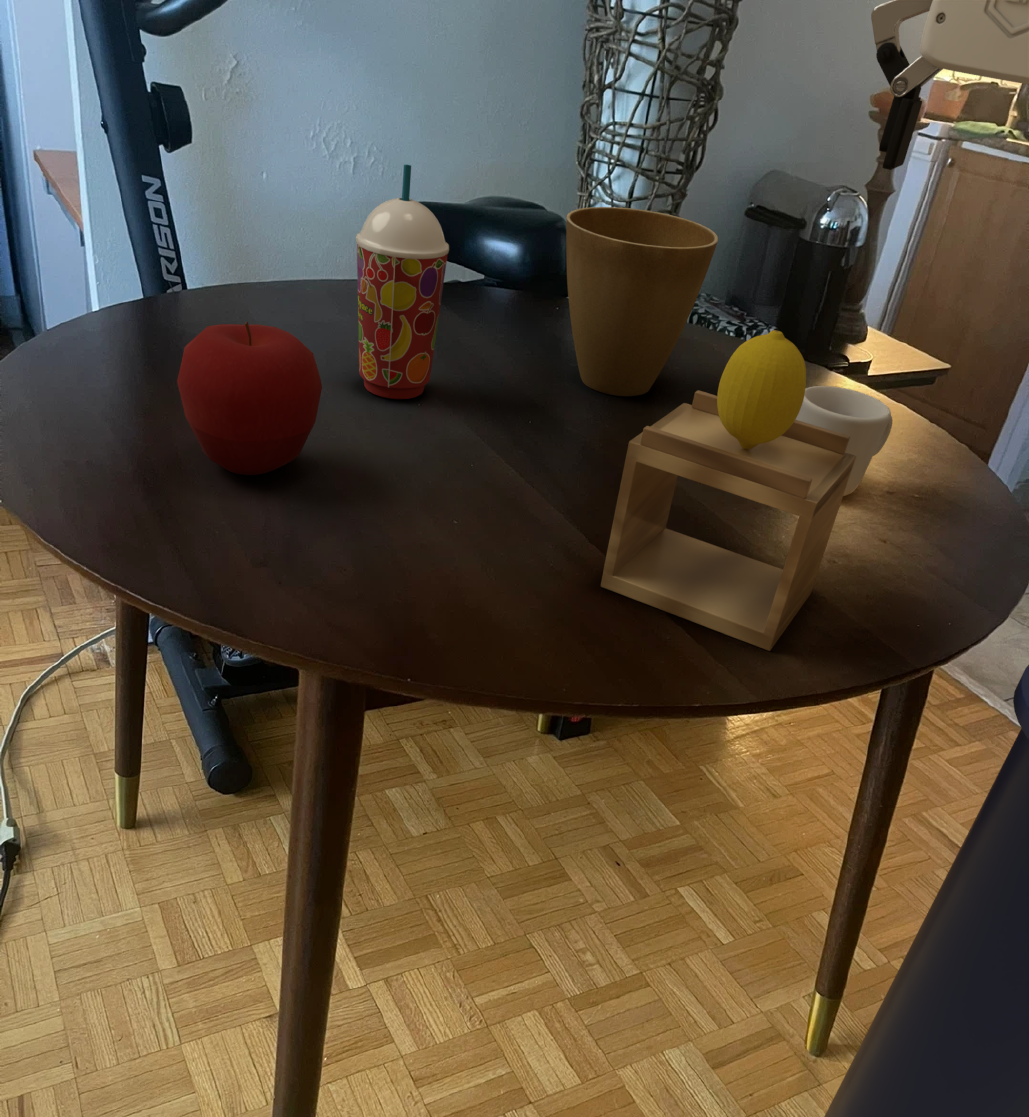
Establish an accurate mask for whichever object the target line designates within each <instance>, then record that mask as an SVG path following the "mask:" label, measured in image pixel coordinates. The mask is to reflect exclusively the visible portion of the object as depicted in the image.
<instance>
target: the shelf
mask: <svg viewBox="0 0 1029 1117" xmlns="http://www.w3.org/2000/svg"><path fill="white" fill-rule="evenodd" d="M849 439H850V436H848V435H844V434H841V433H838V432H835V431H831V430H828V429H825V428H821V427H818V426H815V425H811V424H808V423H805V422H801V421H798V420H795V421H794V423H793V424H792V425H791V427H790V428H789V429H788V430H787V431H786V432H785V433H784V434H783V435H781V436H780V437H778V438H777V439H775V440H773V441H770V442H767V443H761V444H758V445H756V446H755V447H753V448H752V449H744V448H742V447H741V445H740V444H739V442H738V440H737V439H736V438H735V437H733V436H732V435H731V434H730V433H729V432H728V431H727V430H726V429H725V427H724V426H723V424H722V422H721V420H720V417H719V414H718V407H717V395H715V394H712V393H708V392H705V391H702V390H696V391H695V392H694V395H693V399H692V404H689V403H687V402H683V403H682V404H680V405H679V406H678V407H676V408H675V409H673V410H672V411H671V412H669V413H668V414H666V415H665V416H664V417H662V418H660V419H659V420H658V421H656V422H655V423H653V424H652V425H650V426H649V425H646V426H645V427H643V429H642V432H641V433H639V434H638V435H636V436H635V437H633V438H632V439H631V440H629V441H628V446H627V451H626V455H625V461H624V465H623V470H622V476H621V479H620V480H621V481H620V485H619V490H618V496H617V501H616V504H615V510H614V516H613V521H612V526H611V529H610V536H609V540H608V546H607V549H606V550H607V551H606V556H605V561H604V565H603V566H604V567H603V571H602V576H601V580H600V581H601V582H600V587H601V588H603V589H606V590H608V591H611V592H614V593H617V594H618V595H622V596H624V597H626V598H629V599H632V600H634V601H637V602H640V603H642V604H645V605H647V606H650V607H653V608H656V609H658V610H661V611H663V612H665V613H668V614H671V615H674V616H676V617H679V618H682V619H684V620H687V621H690V622H692V623H695V624H698V625H700V626H703V627H705V628H708V629H710V630H712V631H715V632H718V633H721V634H723V635H726V636H729V637H731V638H734V639H737V640H739V641H742V642H744V643H747V644H750V645H752V646H755V647H757V648H760V649H763V650H765V651H767V652H770V651H771V650H772V649H773V648H774V646H775V645H776V644H777V642H778V640H779V639H780V637H781V636H782V635H783V633H784V632H785V631H786V629H787V628H788V626H789V625H790V624H791V623H792V621H793V619H794V618H795V617H796V615H797V613H798V612H799V611H800V610H801V609H802V607H803V605H804V604H805V603H806V601H807V600H808V599H809V597H810V595H811V594H812V591H813V588H814V585H815V581H816V579H817V576H818V573H819V570H820V567H821V564H822V561H823V557H824V555H825V552H826V550H827V545H828V542H829V540H830V537H831V533H832V531H833V528H834V526H835V525H834V524H835V522H836V519H837V516H838V512H839V510H840V506H841V503H842V500H843V498H844V496H843V495H844V492H845V489H846V486H847V483H848V480H849V477H850V474H851V471H852V468H853V465H854V462H855V459H856V456H855V455H852V454H848V453H845V451H846V448H847V445H848V442H849ZM678 477H681V478H685V479H687V480H690V481H694V482H696V483H699V484H702V485H706V486H707V487H711V488H714V489H718V490H720V491H723V492H727V493H729V494H732V495H736V496H738V497H741V498H744V499H747V500H750V501H753V502H756V503H759V504H762V505H765V506H768V507H771V508H775V509H777V510H781V511H783V512H787V513H789V514H792V515H795V516H798V520H797V523H796V527H795V530H794V533H793V536H792V538H791V539H792V540H791V543H790V546H789V549H788V552H787V556H786V558H785V562H784V565H783V567H782V568H783V569H782V568H780V567H776V566H774V565H771V564H768V563H765V562H764V561H759V560H757V559H754V558H751V557H748V556H745V555H742V554H740V553H737V552H735V551H731V550H730V549H729V550H728V549H725V548H724V547H720V546H717V545H714V544H712V543H709V542H706V541H704V540H700V539H697V538H695V537H691V536H689V535H686V534H683V533H680V532H678V531H675V530H672V529H669V528H667V524H668V520H669V516H670V511H671V506H672V502H673V498H674V495H675V494H674V493H675V490H676V485H677V481H678Z"/></svg>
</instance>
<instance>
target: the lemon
mask: <svg viewBox="0 0 1029 1117" xmlns="http://www.w3.org/2000/svg"><path fill="white" fill-rule="evenodd" d="M806 386H807V367H806V362H805V359H804V357H803V354H802V353H801V352H800V350H799V349H798V347H797V346H796V345H795V344H794V343H793V342H792V341H790V340H789V339H788V338H786V337H785V335H784V333H783V332H782V331H780V330H775V329H773V330H771V331H769V332H768V333H766V334H760V335H756V336H754V337H752V338H749V339H748V340H745V341H744V342H743V343H741V344H740V345H739V346H738V347H737V348H736V349H735V351H734V352H733V353H732V355H731V356H730V358H729V359H728V362H727V363H726V365H725V367H724V370H723V371H722V374H721V377H720V379H719V383H718V388H717V395H716V396H717V407H718V414H719V417H720V420H721V422H722V424H723V426H724V427H725V429H726V430H727V431H728V432H729V433H730V434H731V435H732V436H733V437H735V438H736V439H737V440H738V442H739V444H740V445H741V447H742V448H744V449H752V448H753V447H755V446H756V445H758V444H761V443H767V442H770V441H773V440H775V439H777V438H778V437H780V436H781V435H783V434H784V433H785V432H786V431H787V430H788V429H789V428H790V427H791V425H792V424H793V423H794V421H795V419H796V418H797V416H798V414H799V411H800V409H801V406H802V403H803V399H804V395H805V389H806V388H807V387H806Z"/></svg>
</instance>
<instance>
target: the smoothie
mask: <svg viewBox="0 0 1029 1117" xmlns="http://www.w3.org/2000/svg"><path fill="white" fill-rule="evenodd" d="M402 173H403V174H402V187H401V188H402V190H401V197H396V198H391V199H388V200H386V201H384V202H382V203H380V204H379V205H377V206H376V207H375V208H373V209H372V211H370V213H369V214H368V215H367V217H366V218H365V220H364V223H363V224H362V228H361V229H360V232H358V233H356V235H355V243H356V270H357V271H356V272H357V274H356V275H357V319H358V320H357V324H358V326H357V327H358V329H357V330H358V367H359V368H358V372H359V373H358V374H359V376H360V377H361V378H362V379H363V385H364V389H365V390H367V391H368V392H370V393H371V394H373V395H374V396H376V397H377V396H378V397H381V398H385V399H390V400H409V399H415V398H416V397H418V396H421V395H422V394H423V393H424V390H425V386H426V385H427V384H428V383H429V382H430V380H431V373H432V368H433V367H432V366H433V359H434V353H435V346H436V340H437V339H436V338H437V333H438V324H439V318H440V312H441V303H442V298H443V291H444V290H443V289H444V283H445V276H446V271H447V270H446V268H447V262H448V254H449V252H450V244H449V243H448V242H446V239H445V234H444V230H443V228H442V225H441V223H440V222H439V220H438V218H437V217H436V216H435V214H434V213H433V212H432V211H431V210H430V209H429V208H428V207H427V206H426V205H424V204H422V203H421V202H419V201H417V200H414V199H413V198H410V194H411V192H410V191H411V180H412V179H411V176H412V165H411V164H406V163H405V164H403V172H402Z"/></svg>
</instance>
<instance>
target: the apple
mask: <svg viewBox="0 0 1029 1117" xmlns="http://www.w3.org/2000/svg"><path fill="white" fill-rule="evenodd" d="M176 383H177V388H178V392H179V396H180V401H181V404H182V408H183V413H184V417H185V419H186V421H187V423H188V425H189V427H190V429H191V431H192V433H193V435H194V437H195V438H196V440H197V442H198V445H200V448H201V450H202V452H203V454H204V455H206V457H207V458H208V459H209V460H210V461H211V462H213V463H215V464H216V465H218V466H221V468H223V469H225V470H226V471H228V472H230V473H233V474H236V475H243V476H258V475H263V474H267V473H270V472H273V471H275V470H277V469H280V468H281V467H283V466H285V465H287V464H289V463H290V462H293V461H294V460H295V459H296V458H297V457H299V455H301V452H302V450H303V448H304V446H305V444H306V442H307V440H308V438H309V436H310V435H311V432H312V430H313V428H314V426H315V424H316V422H317V421H316V420H317V417H318V411H319V407H320V406H319V405H320V401H321V395H322V390H323V384H322V379H321V375H320V372H319V369H318V365H317V362H316V358H315V355H314V353H313V351H311V349H309V348H308V346H306V345H305V344H304V343H303V342H302V341H300V339H299V338H297V337H296V336H295V335H293V334H292V333H290V332H289V331H286V330H285V329H282V328H279V327H277V326H272V325H271V326H270V325H264V324H249V321H246V322H245V324H235V323H232V324H231V323H230V324H228V323H221V324H215V325H208V326H206V327H205V328H204V329H203V330H201V331H200V332H199V333H198V334H197V335H196V336H195V337H194V338H192V340H191V341H189V342H188V343H187V344H186V345H185V346H184V349H183V354H182V357H181V362H180V367H179V372H178V376H177V380H176Z"/></svg>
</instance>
